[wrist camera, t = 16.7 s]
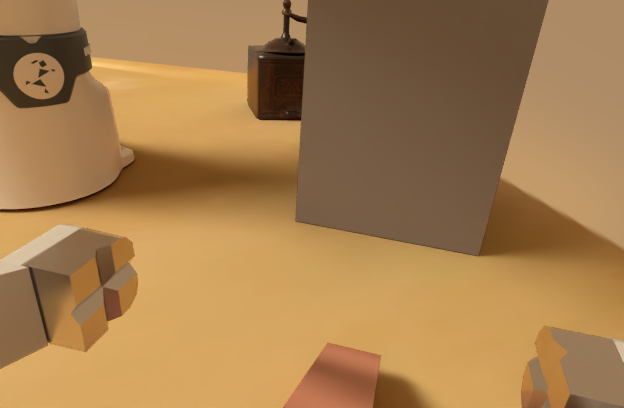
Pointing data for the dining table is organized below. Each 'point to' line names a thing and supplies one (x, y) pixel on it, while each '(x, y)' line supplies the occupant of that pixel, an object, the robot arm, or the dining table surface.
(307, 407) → the copper-colored stick
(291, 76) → the manual coffee grinder
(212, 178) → the dining table surface
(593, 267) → the dining table surface
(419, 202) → the shelf block
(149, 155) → the dining table surface
